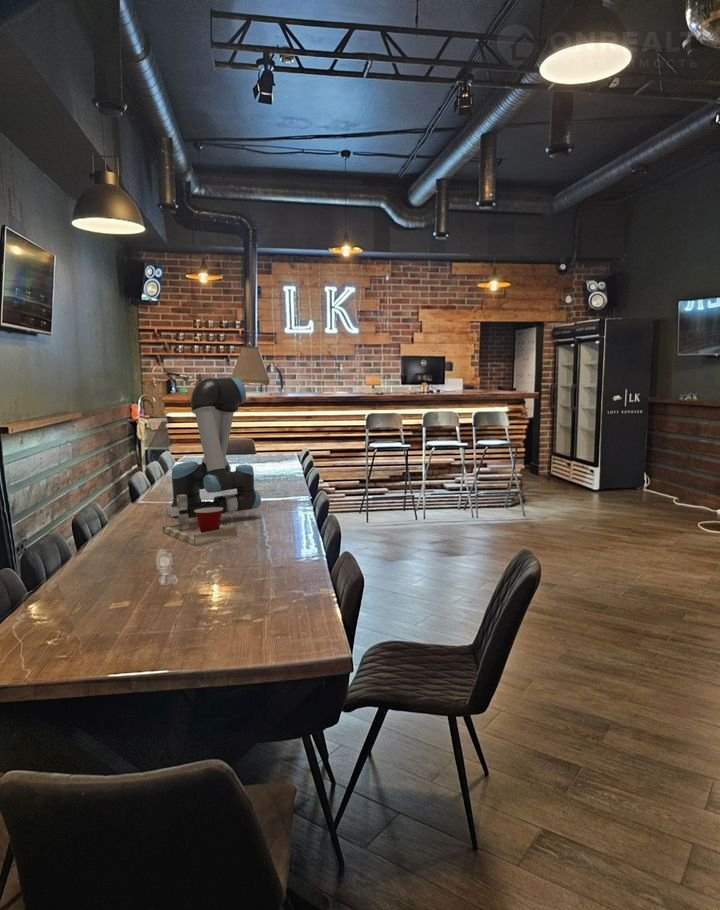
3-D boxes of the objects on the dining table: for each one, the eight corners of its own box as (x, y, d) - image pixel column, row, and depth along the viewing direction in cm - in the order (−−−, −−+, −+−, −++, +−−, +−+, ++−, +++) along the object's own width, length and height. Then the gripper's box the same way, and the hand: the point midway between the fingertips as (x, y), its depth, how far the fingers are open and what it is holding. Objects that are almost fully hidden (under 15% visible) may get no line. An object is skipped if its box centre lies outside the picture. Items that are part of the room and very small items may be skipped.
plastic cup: (223, 534, 230) (221, 504, 228) (226, 540, 220) (225, 509, 218) (194, 537, 226) (192, 506, 225) (197, 544, 216) (195, 512, 215)
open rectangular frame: (162, 532, 234) (159, 498, 232) (201, 524, 245) (199, 491, 244) (196, 546, 213) (194, 508, 211) (237, 536, 225) (235, 501, 223)
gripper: (232, 516, 241) (175, 525, 228) (218, 509, 255) (163, 517, 242) (231, 498, 240) (174, 506, 227) (217, 492, 254) (162, 499, 241)
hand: (169, 512), depth 234 cm, fingers closed on open rectangular frame, 3 cm apart
